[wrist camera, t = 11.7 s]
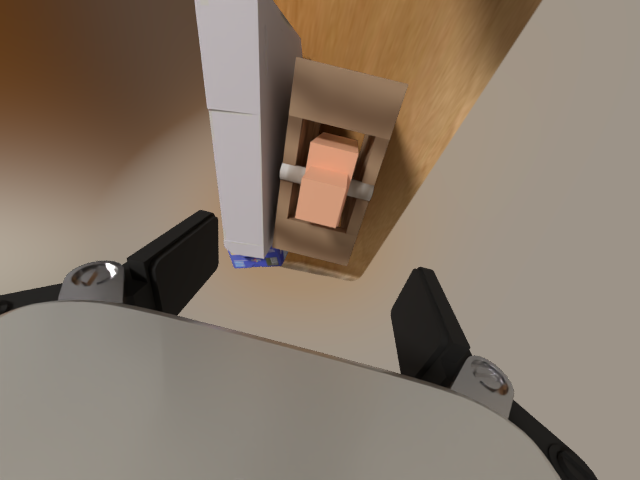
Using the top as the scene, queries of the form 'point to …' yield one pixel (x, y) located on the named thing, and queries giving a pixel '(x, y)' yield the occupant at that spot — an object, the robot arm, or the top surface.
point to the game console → (247, 112)
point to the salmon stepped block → (326, 179)
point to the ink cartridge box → (259, 259)
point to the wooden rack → (304, 125)
